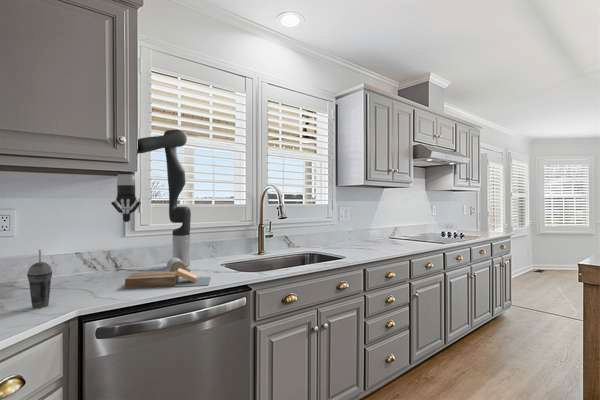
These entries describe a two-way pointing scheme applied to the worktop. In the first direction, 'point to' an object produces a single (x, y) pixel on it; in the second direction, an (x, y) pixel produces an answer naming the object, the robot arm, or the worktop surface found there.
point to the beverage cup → (39, 283)
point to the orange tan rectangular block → (186, 275)
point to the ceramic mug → (176, 265)
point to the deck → (151, 280)
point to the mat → (199, 282)
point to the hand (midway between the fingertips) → (126, 221)
